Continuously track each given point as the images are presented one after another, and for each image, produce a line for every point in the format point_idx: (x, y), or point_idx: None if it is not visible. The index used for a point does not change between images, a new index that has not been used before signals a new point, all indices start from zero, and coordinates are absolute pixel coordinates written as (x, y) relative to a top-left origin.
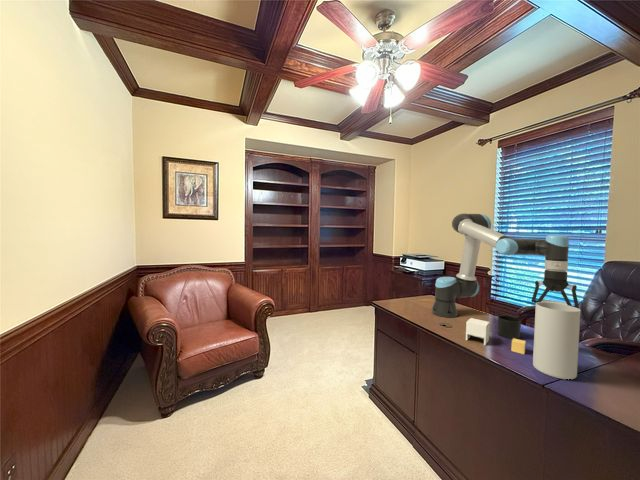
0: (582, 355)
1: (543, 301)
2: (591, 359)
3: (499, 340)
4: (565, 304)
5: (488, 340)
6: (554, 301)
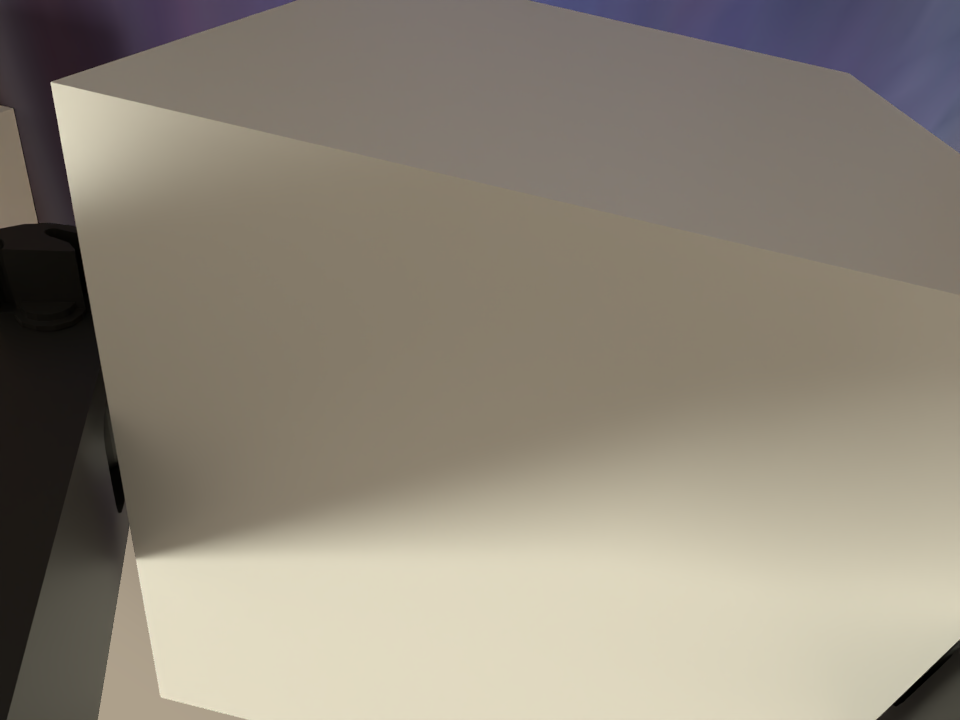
0: (916, 5)
1: (177, 556)
2: (952, 99)
3: (89, 42)
4: (846, 693)
5: (16, 128)
6: (593, 362)
